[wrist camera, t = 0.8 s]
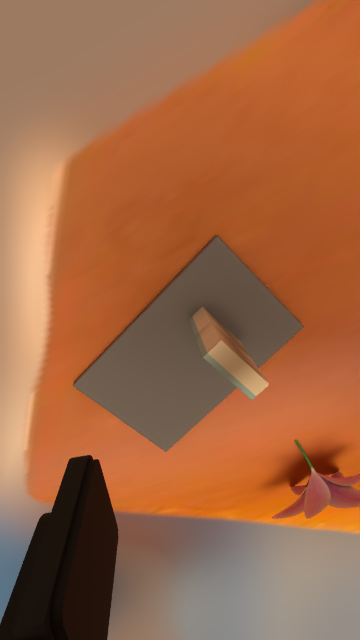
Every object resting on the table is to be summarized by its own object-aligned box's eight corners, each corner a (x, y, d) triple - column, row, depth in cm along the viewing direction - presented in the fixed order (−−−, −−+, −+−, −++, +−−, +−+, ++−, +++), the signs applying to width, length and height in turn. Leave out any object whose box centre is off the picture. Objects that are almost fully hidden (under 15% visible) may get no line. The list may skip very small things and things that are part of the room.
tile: (240, 341, 36) (269, 384, 27) (227, 354, 36) (251, 400, 28) (202, 306, 34) (221, 340, 25) (188, 319, 34) (203, 357, 26)
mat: (300, 324, 37) (303, 326, 36) (165, 447, 40) (165, 451, 40) (216, 235, 32) (217, 235, 32) (74, 382, 36) (72, 385, 36)
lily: (243, 477, 45) (283, 556, 39) (272, 434, 37) (328, 525, 31) (310, 451, 49) (356, 518, 43) (348, 408, 42) (411, 482, 35)
